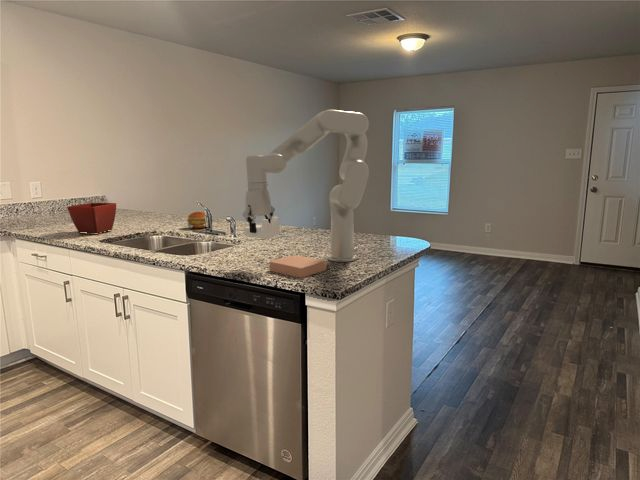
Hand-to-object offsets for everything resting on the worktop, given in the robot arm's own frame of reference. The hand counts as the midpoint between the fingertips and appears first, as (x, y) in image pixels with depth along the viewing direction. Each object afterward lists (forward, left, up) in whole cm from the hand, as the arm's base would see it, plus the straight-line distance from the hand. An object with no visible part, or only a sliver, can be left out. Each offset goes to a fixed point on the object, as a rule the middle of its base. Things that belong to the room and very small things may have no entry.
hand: (260, 230), depth 178 cm
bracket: (0, +1, -2) cm, 2 cm away
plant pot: (+6, -139, -15) cm, 140 cm away
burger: (-41, -102, -15) cm, 111 cm away
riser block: (-3, +17, -15) cm, 23 cm away
